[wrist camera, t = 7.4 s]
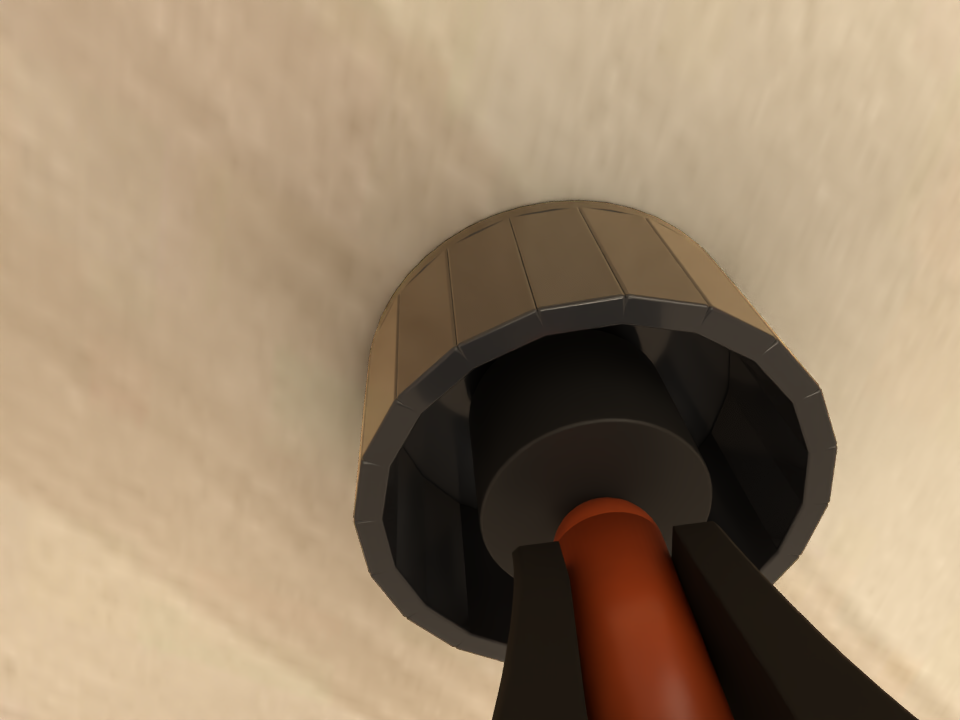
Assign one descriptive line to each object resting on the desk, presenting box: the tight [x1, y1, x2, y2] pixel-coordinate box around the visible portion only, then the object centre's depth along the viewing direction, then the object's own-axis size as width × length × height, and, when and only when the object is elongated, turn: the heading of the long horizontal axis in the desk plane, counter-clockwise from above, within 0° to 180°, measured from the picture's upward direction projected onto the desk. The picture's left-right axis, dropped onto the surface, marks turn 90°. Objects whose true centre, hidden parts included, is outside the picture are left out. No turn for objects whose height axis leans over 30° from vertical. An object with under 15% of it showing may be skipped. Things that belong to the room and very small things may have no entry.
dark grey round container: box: [353, 200, 837, 662], centre depth 15 cm, size 8×8×4 cm
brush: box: [469, 329, 734, 720], centre depth 12 cm, size 4×4×8 cm
